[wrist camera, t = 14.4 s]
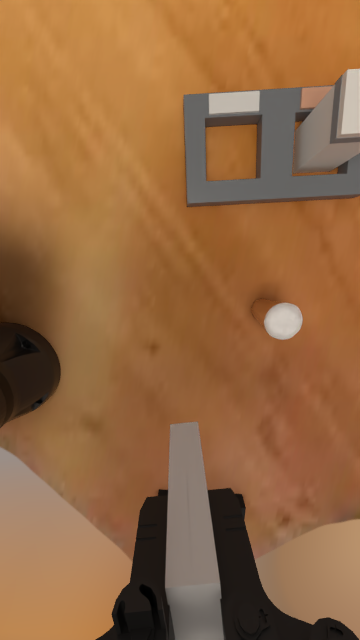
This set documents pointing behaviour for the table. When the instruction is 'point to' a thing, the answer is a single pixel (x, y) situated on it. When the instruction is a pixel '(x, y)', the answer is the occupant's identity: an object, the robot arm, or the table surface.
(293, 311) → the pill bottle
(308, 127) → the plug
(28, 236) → the table surface
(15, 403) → the robot arm
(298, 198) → the socket block
